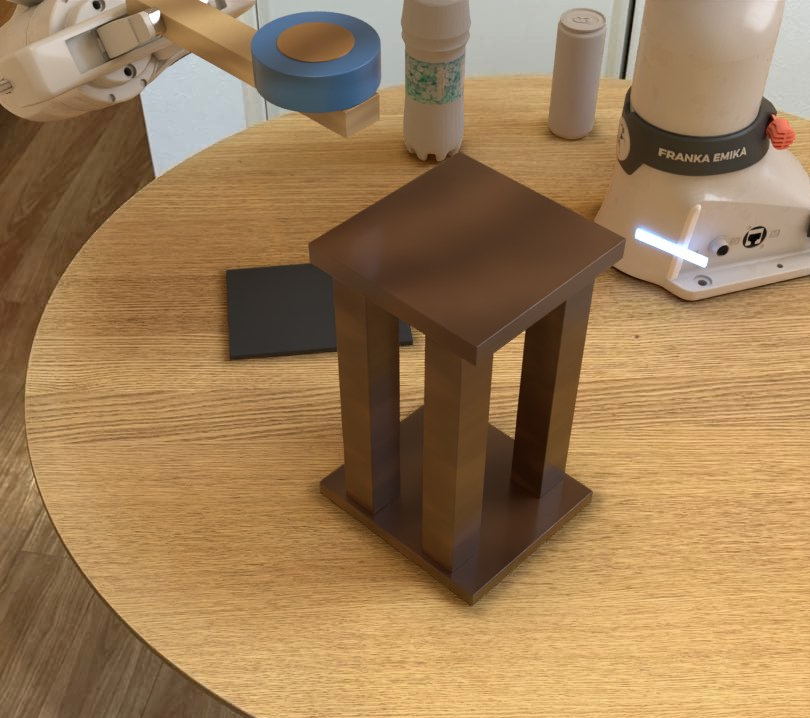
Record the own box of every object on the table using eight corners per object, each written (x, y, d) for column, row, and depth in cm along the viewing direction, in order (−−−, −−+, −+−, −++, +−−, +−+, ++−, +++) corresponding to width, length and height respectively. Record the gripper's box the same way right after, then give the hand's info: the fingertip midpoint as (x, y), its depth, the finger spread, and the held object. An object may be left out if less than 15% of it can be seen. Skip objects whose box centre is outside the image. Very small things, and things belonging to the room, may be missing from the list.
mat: (396, 260, 109) (396, 256, 108) (413, 344, 101) (413, 340, 101) (226, 274, 108) (225, 269, 107) (230, 360, 100) (229, 356, 100)
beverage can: (590, 143, 121) (605, 33, 112) (544, 139, 122) (555, 28, 113) (594, 119, 124) (609, 9, 115) (550, 114, 125) (561, 4, 116)
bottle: (474, 161, 119) (484, -36, 104) (411, 172, 118) (412, -26, 102) (453, 127, 123) (460, -68, 108) (393, 137, 122) (391, -58, 107)
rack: (319, 491, 90) (296, 236, 72) (440, 401, 97) (448, 145, 78) (471, 606, 83) (490, 355, 65) (591, 501, 90) (640, 245, 71)
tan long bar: (99, 30, 80) (86, -33, 77) (188, -9, 84) (180, -71, 81) (316, 155, 71) (312, 90, 67) (407, 104, 74) (407, 40, 71)
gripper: (-43, 54, 84) (29, 16, 73) (179, -40, 93) (271, -85, 82) (2, 138, 86) (77, 115, 76) (213, 39, 96) (306, 6, 85)
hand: (180, 10), depth 79 cm, fingers closed on tan long bar, 3 cm apart
